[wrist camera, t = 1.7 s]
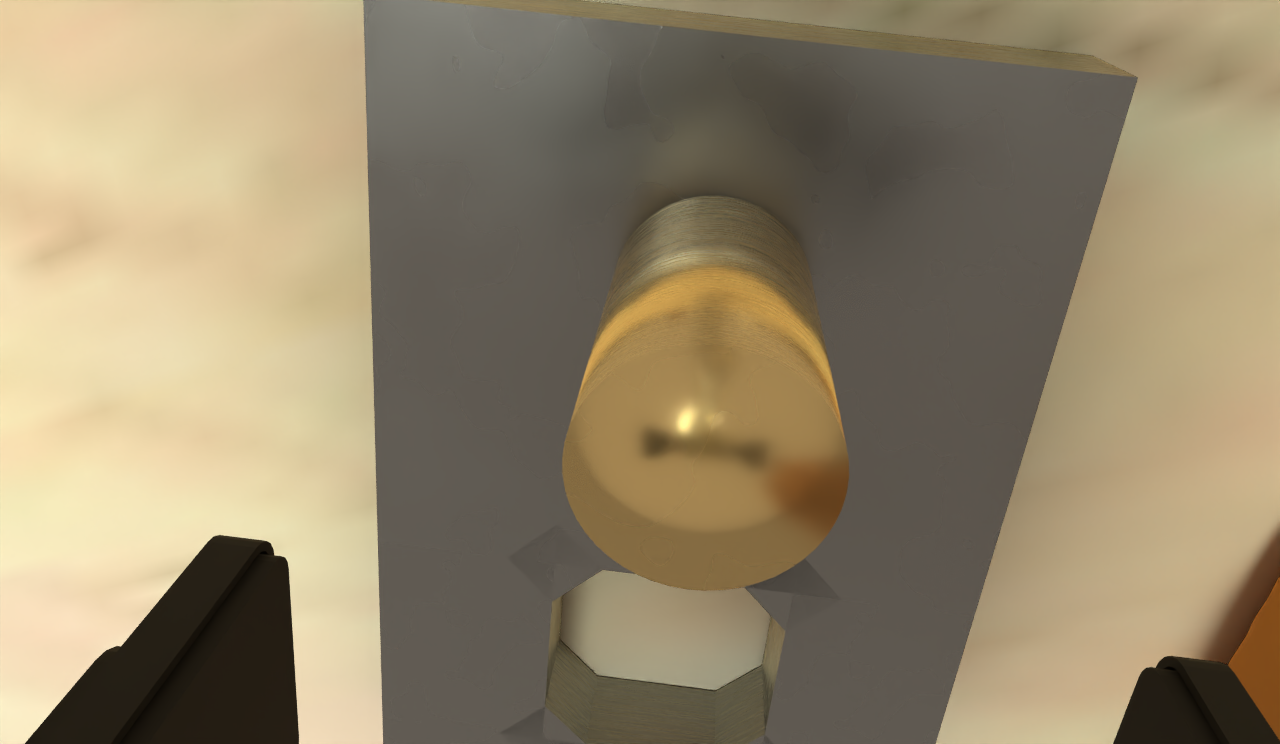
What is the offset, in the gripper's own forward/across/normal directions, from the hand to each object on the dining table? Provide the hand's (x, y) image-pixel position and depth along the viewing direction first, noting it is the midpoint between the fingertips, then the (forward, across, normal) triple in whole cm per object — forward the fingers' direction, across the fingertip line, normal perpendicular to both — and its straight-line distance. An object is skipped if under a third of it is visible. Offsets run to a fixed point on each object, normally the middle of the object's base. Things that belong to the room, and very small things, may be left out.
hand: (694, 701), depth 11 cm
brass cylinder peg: (+11, 0, -1) cm, 11 cm away
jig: (+13, 0, +4) cm, 14 cm away
